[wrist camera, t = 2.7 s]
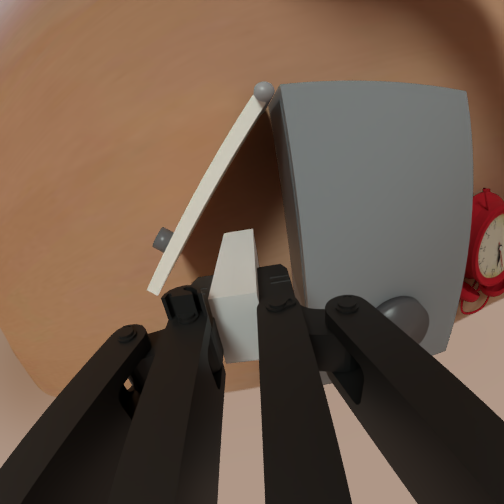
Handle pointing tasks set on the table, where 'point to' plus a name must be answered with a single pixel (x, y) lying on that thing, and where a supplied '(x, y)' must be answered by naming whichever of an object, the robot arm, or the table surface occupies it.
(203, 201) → the door
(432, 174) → the case
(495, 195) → the alarm clock
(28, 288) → the table surface
